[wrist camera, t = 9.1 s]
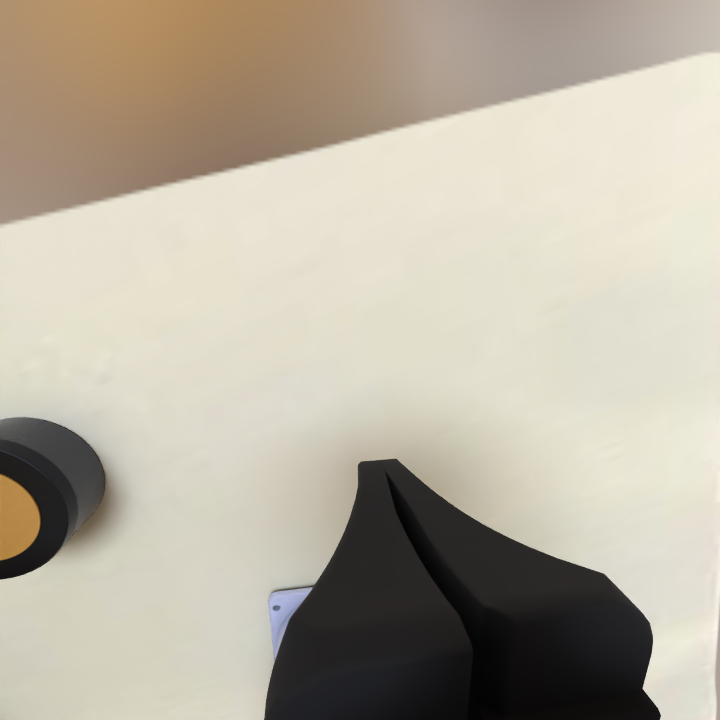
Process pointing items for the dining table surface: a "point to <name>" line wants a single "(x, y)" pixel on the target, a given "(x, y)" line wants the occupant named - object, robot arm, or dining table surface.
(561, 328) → the dining table surface
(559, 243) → the dining table surface
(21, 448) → the tin
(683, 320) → the dining table surface
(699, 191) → the dining table surface
